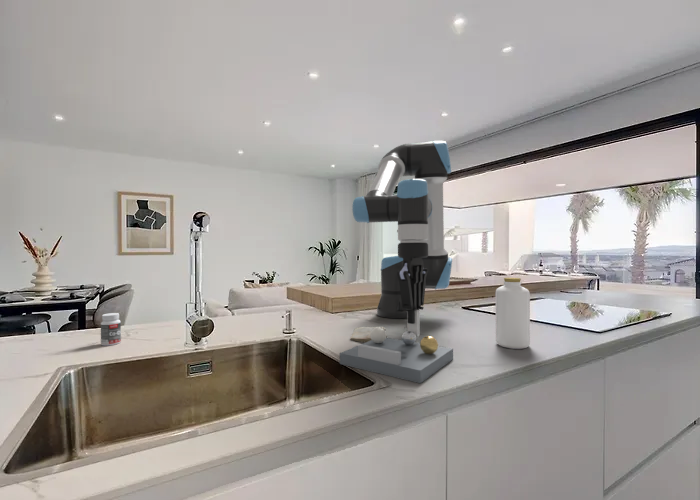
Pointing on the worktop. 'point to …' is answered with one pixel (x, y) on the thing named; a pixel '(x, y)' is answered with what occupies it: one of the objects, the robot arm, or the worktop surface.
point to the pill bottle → (110, 329)
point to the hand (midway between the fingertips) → (413, 335)
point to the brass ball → (429, 345)
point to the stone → (363, 334)
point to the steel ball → (408, 337)
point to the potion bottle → (513, 314)
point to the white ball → (378, 335)
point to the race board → (396, 359)
